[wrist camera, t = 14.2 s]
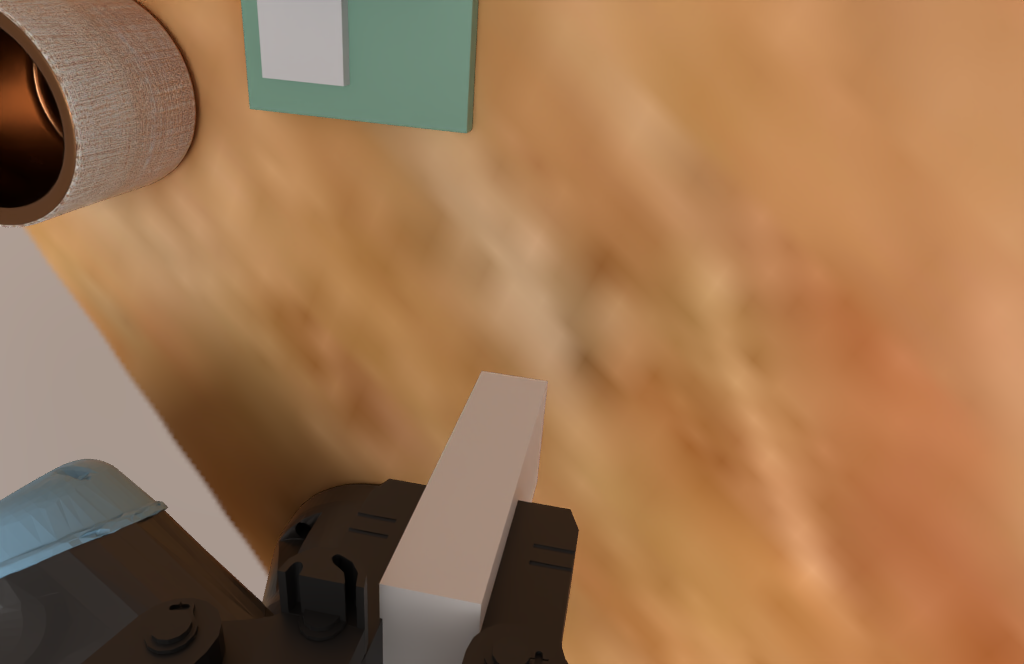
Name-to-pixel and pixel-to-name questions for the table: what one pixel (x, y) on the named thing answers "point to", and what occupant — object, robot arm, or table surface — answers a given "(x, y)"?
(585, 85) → the table surface
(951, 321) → the table surface
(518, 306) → the table surface
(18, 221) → the planter
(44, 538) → the robot arm
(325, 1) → the board
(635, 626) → the table surface
